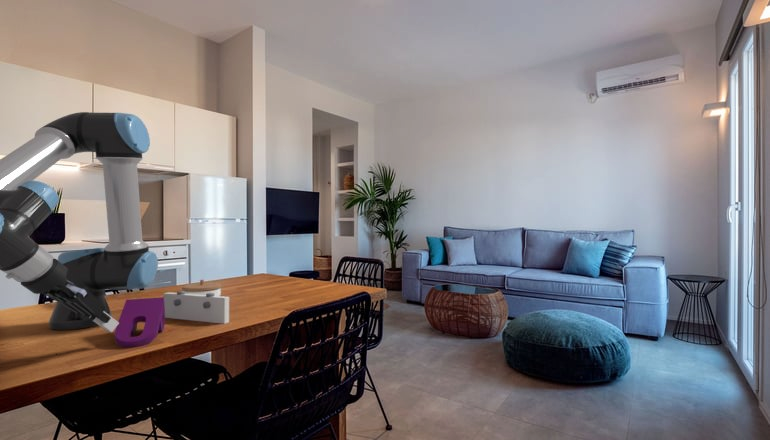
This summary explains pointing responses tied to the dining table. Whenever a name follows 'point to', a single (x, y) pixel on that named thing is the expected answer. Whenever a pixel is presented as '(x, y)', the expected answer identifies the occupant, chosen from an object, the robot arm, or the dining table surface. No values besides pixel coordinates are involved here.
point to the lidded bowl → (203, 288)
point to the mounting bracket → (140, 312)
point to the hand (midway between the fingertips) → (113, 327)
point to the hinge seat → (196, 307)
